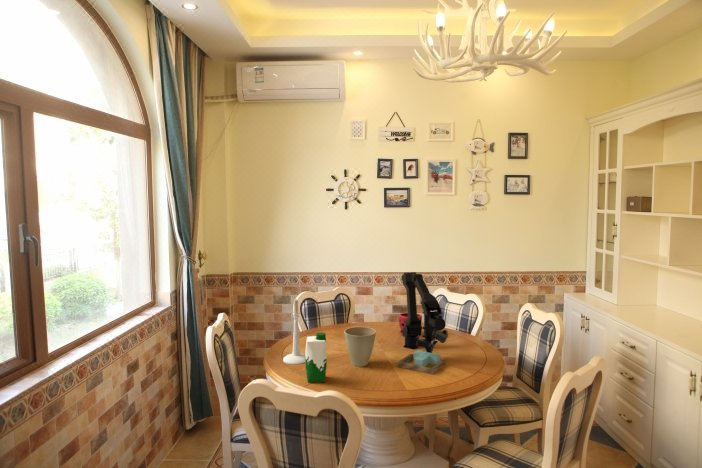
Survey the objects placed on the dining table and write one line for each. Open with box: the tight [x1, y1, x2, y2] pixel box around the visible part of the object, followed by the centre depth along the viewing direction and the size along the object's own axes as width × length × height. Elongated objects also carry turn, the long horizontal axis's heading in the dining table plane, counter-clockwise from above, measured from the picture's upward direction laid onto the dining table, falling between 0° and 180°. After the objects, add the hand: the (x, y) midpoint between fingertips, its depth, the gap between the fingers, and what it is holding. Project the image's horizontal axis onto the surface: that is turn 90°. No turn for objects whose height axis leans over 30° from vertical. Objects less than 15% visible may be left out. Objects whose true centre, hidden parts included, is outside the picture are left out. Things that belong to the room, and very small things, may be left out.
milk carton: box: [304, 332, 328, 384], centre depth 193 cm, size 9×9×20 cm
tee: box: [413, 349, 441, 367], centre depth 212 cm, size 12×12×4 cm
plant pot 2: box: [398, 312, 423, 337], centre depth 259 cm, size 13×13×12 cm
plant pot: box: [343, 326, 377, 368], centre depth 212 cm, size 15×15×16 cm
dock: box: [396, 353, 446, 375], centre depth 210 cm, size 18×14×2 cm
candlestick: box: [282, 299, 305, 366], centre depth 217 cm, size 13×13×30 cm
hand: (429, 356), depth 218 cm, fingers closed
